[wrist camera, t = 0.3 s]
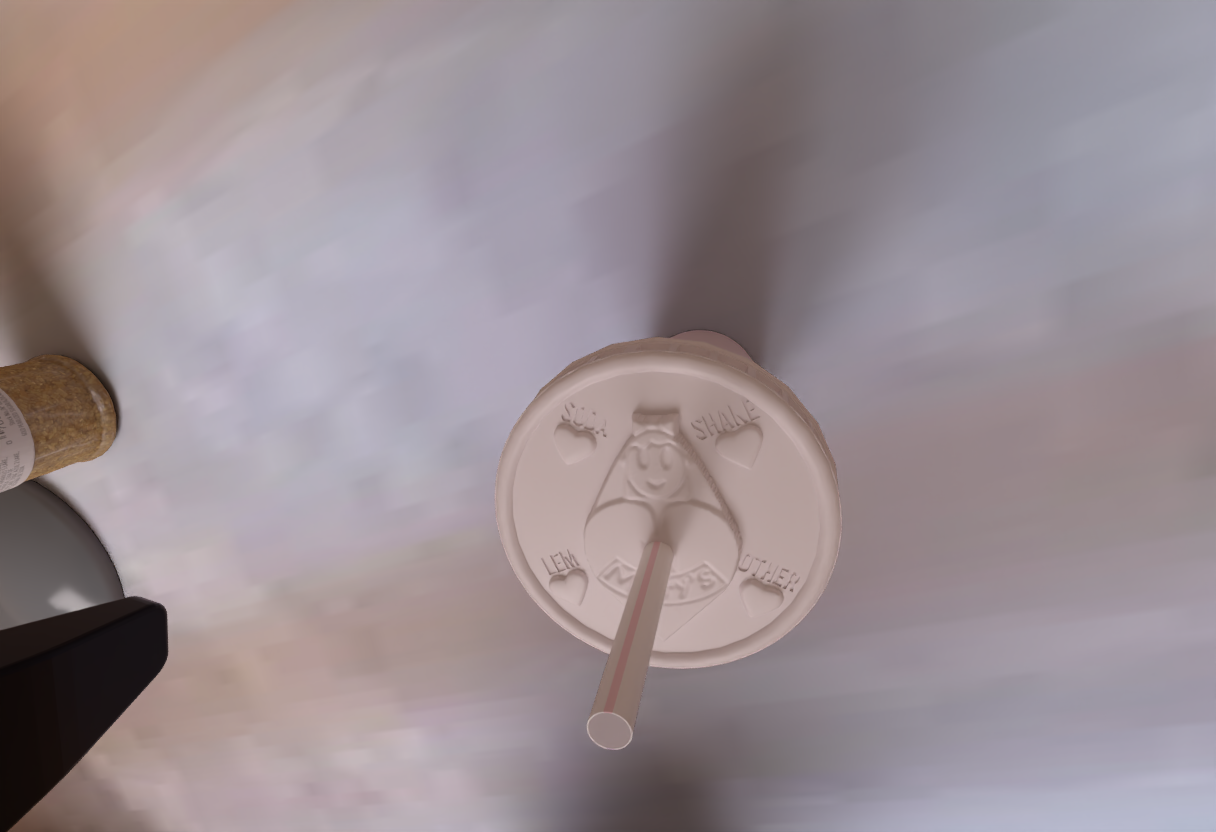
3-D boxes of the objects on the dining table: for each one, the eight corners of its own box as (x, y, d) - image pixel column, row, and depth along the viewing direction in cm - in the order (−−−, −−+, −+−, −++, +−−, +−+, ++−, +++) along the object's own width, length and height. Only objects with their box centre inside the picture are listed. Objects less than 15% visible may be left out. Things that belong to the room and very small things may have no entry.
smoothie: (608, 478, 22) (400, 859, 9) (595, 289, 20) (309, 428, 7) (801, 481, 21) (886, 940, 8) (806, 280, 19) (926, 430, 6)
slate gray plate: (143, 696, 31) (128, 708, 30) (-39, 651, 33) (-58, 662, 32) (102, 487, 27) (83, 494, 26) (-100, 451, 29) (-122, 457, 28)
